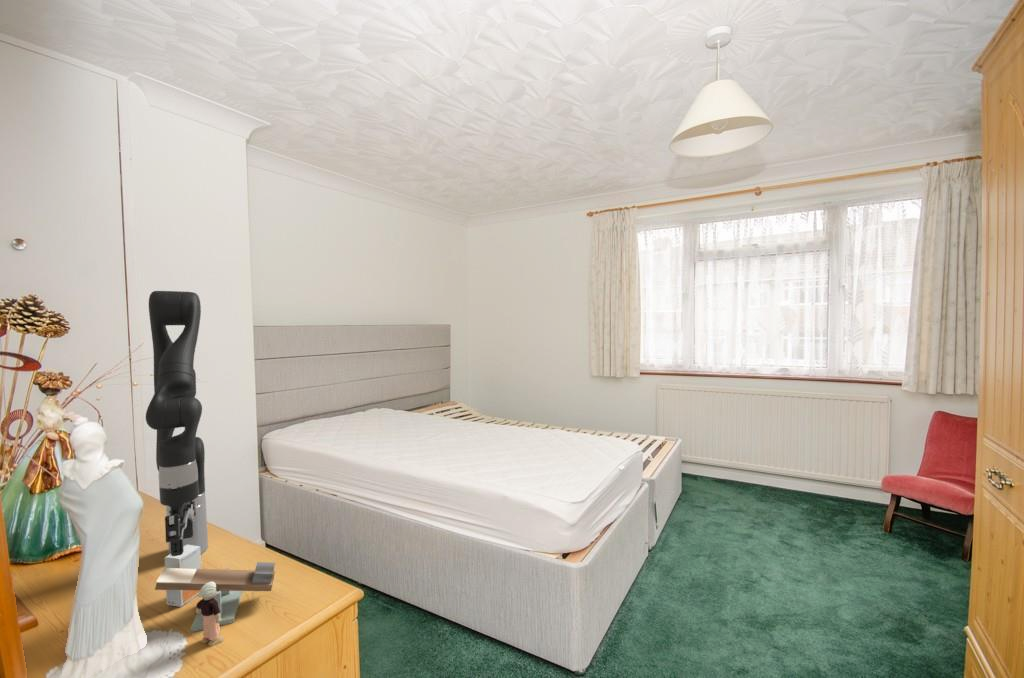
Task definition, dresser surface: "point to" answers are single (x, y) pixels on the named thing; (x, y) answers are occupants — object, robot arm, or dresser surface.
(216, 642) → the grandmother figurine
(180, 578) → the beam
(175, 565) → the skincare box
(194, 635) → the dresser surface
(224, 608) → the beam stand
